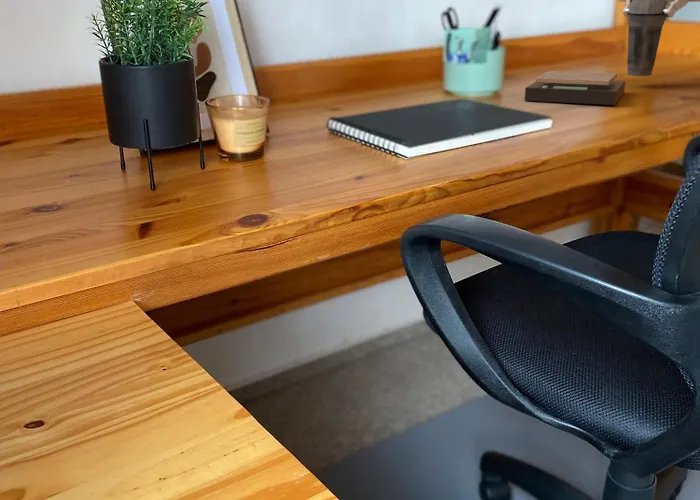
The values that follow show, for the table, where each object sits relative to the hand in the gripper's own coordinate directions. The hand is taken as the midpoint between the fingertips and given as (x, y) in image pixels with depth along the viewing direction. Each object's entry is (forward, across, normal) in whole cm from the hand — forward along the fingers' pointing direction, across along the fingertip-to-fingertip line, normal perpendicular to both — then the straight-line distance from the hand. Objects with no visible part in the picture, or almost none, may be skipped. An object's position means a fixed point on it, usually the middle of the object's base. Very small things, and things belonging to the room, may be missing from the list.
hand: (646, 14), depth 138 cm
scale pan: (+19, -2, -4) cm, 20 cm away
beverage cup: (+8, 0, +8) cm, 12 cm away
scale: (+22, -2, -2) cm, 22 cm away
